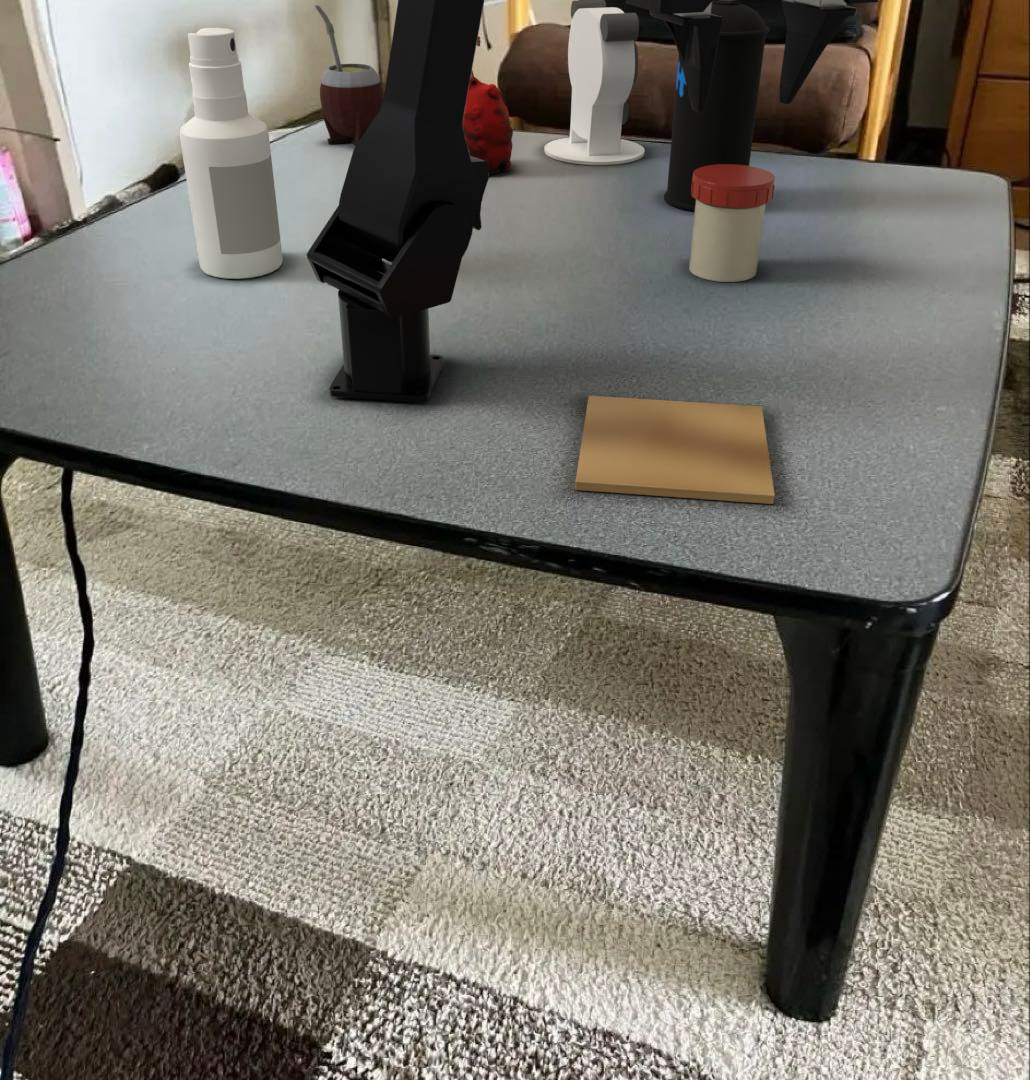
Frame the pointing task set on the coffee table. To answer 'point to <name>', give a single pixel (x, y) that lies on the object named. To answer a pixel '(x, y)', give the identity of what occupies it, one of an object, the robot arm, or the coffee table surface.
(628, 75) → the white stand
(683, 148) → the aerosol can
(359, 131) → the mate gourd
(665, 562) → the coffee table surface
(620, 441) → the coaster
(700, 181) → the jar lid
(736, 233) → the jar
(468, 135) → the red clay folk toy
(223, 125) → the spray bottle
